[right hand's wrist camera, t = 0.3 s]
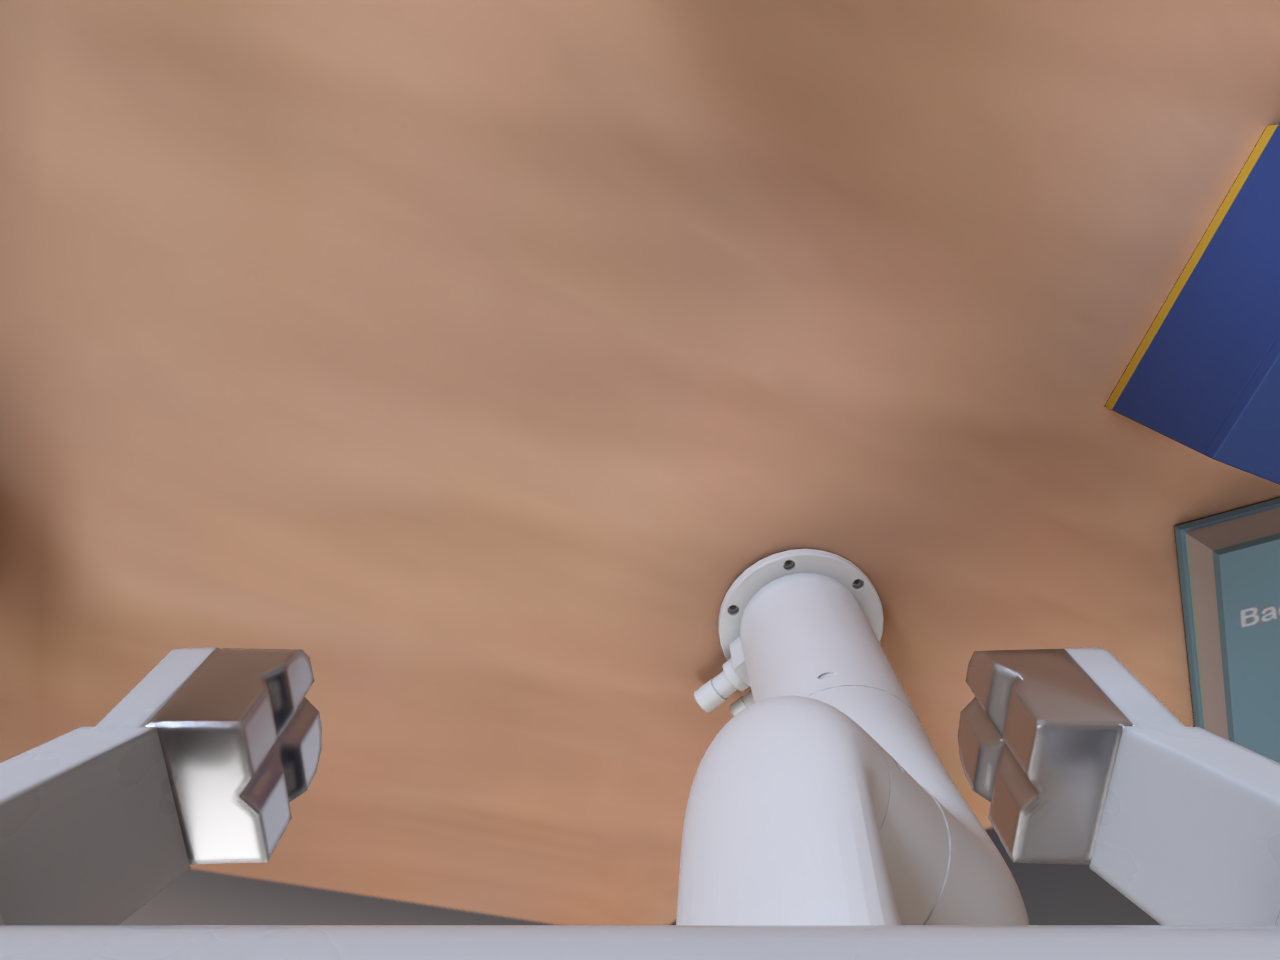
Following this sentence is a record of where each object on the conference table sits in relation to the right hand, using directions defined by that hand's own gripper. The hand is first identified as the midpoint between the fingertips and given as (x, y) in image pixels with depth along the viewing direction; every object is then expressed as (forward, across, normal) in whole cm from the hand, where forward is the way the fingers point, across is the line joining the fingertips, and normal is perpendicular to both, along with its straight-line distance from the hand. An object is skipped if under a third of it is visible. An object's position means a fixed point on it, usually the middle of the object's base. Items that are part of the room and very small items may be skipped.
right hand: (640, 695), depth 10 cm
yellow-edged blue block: (+48, -39, +1) cm, 62 cm away
